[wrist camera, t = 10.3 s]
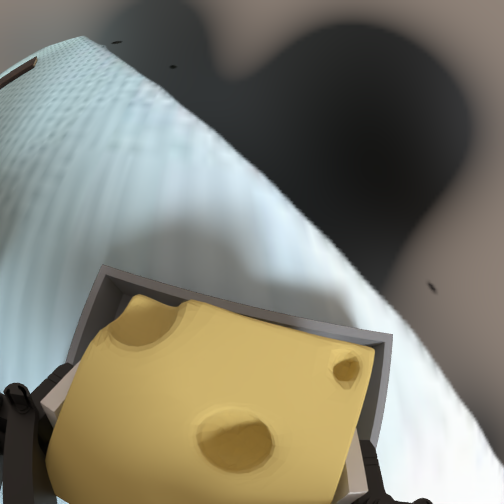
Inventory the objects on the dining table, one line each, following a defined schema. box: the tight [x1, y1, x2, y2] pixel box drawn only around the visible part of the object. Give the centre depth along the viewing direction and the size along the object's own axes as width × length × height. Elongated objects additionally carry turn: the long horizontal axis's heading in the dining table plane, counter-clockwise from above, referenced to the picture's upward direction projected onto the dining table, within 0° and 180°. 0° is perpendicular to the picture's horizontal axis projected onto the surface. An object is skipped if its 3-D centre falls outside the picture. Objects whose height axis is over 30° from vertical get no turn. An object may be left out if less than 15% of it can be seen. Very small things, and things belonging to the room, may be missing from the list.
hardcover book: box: [0, 56, 37, 89], centre depth 51 cm, size 16×23×2 cm
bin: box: [65, 264, 393, 450], centre depth 15 cm, size 20×15×4 cm
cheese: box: [45, 294, 375, 504], centre depth 11 cm, size 10×11×10 cm
